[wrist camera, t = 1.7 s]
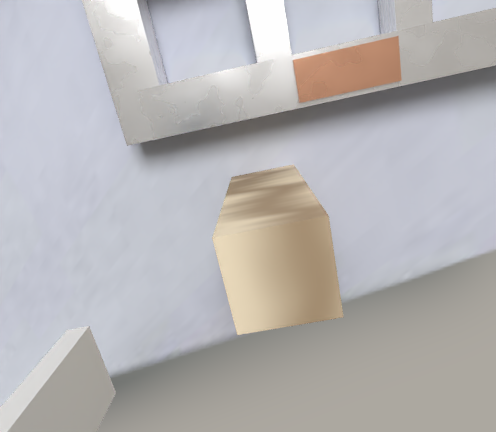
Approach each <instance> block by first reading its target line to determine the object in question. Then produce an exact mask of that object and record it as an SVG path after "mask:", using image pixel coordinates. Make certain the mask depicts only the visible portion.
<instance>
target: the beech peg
mask: <svg viewBox="0 0 496 432" xmlns="http://www.w3.org/2000/svg"><path fill="white" fill-rule="evenodd" d="M212 239H213V243H214V247H215V251H216V254H217V258H218V262H219V266H220V270H221V274H222V278H223V281H224V285H225V289H226V293H227V297H228V301H229V305H230V309H231V312H232V316H233V320H234V324H235V328H236V332H237V335H241V334H247V333H253V332H258V331H264V330H270V329H276V328H282V327H288V326H294V325H300V324H306V323H312V322H317V321H324V320H330V319H336V318H342V317H343V311H342V304H341V297H340V290H339V284H338V277H337V270H336V263H335V256H334V250H333V243H332V236H331V229H330V222H329V216H328V214H327V213H326V211H325V210H324V208H323V207H322V205H321V204H320V203H319V201H318V200H317V198H316V197H315V195H314V194H313V192H312V191H311V189H310V188H309V186H308V185H307V183H306V182H305V181H304V179H303V178H302V176H301V175H300V173H299V172H298V170H297V169H296V167H295V166H294V165H289V166H284V167H279V168H274V169H269V170H265V171H260V172H255V173H250V174H245V175H240V176H235V177H232V178H231V181H230V184H229V187H228V190H227V194H226V197H225V200H224V203H223V206H222V209H221V212H220V215H219V219H218V222H217V225H216V228H215V231H214V234H213V237H212Z"/></svg>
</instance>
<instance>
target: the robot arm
mask: <svg viewBox="0 0 496 432" xmlns="http://www.w3.org/2000/svg"><path fill="white" fill-rule="evenodd" d="M115 394H116V392H115V389H114V387H113V384H112V382H111V379H110V377H109V374H108V372H107V369H106V367H105V364H104V362H103V359H102V357H101V354H100V352H99V350H98V347H97V345H96V342H95V340H94V337H93V335H92V332H91V330H90V327H89V326H87V327H81V328H76V329H70V330H67V331H66V332H65V333H64V334H63V335H62V336H61V338H60V339H59V340H58V341H57V342H56V343H55V345H54V346H53V347H52V348H51V349H50V350H49V352H48V353H47V354H46V355H45V356H44V357H43V358H42V360H41V361H40V362H39V363H38V364H37V365H36V367H35V368H34V369H33V370H32V371H31V372H30V374H29V375H28V376H27V377H26V378H25V379H24V381H23V382H22V383H21V384H20V385H19V386H18V387H17V389H16V390H15V391H14V392H13V393H12V394H11V396H10V397H9V398H8V399H7V400H6V401H5V403H4V404H3V405H2V406H1V407H0V432H97V430H98V428H99V426H100V424H101V422H102V420H103V418H104V416H105V414H106V412H107V410H108V408H109V406H110V404H111V402H112V400H113V398H114V396H115Z"/></svg>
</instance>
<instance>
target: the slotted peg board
mask: <svg viewBox="0 0 496 432" xmlns="http://www.w3.org/2000/svg"><path fill="white" fill-rule="evenodd" d="M82 2H83V6H84V9H85V12H86V15H87V18H88V22H89V25H90V28H91V31H92V34H93V38H94V41H95V44H96V47H97V51H98V54H99V57H100V60H101V63H102V67H103V70H104V73H105V76H106V79H107V83H108V86H109V89H110V92H111V96H112V99H113V102H114V105H115V108H116V112H117V115H118V118H119V121H120V124H121V128H122V131H123V134H124V137H125V141H126V144H127V146H128V145H133V144H138V143H142V142H147V141H151V140H156V139H161V138H165V137H170V136H174V135H179V134H183V133H188V132H193V131H197V130H202V129H206V128H211V127H216V126H220V125H225V124H229V123H234V122H239V121H243V120H248V119H252V118H257V117H261V116H266V115H271V114H275V113H280V112H284V111H289V110H294V109H298V108H303V107H307V106H312V105H317V104H321V103H326V102H330V101H335V100H339V99H344V98H349V97H353V96H358V95H362V94H367V93H372V92H376V91H381V90H385V89H390V88H395V87H399V86H404V85H408V84H413V83H417V82H422V81H427V80H431V79H436V78H440V77H445V76H450V75H454V74H459V73H463V72H468V71H473V70H477V69H482V68H486V67H491V66H495V65H496V8H493V9H489V10H484V11H480V12H476V13H471V14H467V15H463V16H458V17H454V18H450V19H445V20H441V21H437V22H433V17H432V0H378V9H379V21H380V33H381V34H380V35H376V36H372V37H367V38H363V39H359V40H354V41H350V42H346V43H341V44H337V45H333V46H328V47H324V48H320V49H315V50H311V51H307V52H302V53H298V54H294V55H292V53H291V47H290V41H289V34H288V28H287V22H286V15H285V9H284V3H283V0H245V3H246V9H247V14H248V19H249V25H250V30H251V35H252V41H253V46H254V52H255V57H256V62H257V63H255V64H250V65H246V66H242V67H237V68H233V69H229V70H224V71H220V72H216V73H211V74H207V75H203V76H198V77H194V78H190V79H185V80H181V81H177V82H172V83H168V81H167V77H166V73H165V70H164V66H163V62H162V58H161V54H160V51H159V47H158V43H157V39H156V35H155V31H154V28H153V24H152V20H151V16H150V12H149V9H148V5H147V1H146V0H82Z"/></svg>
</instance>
